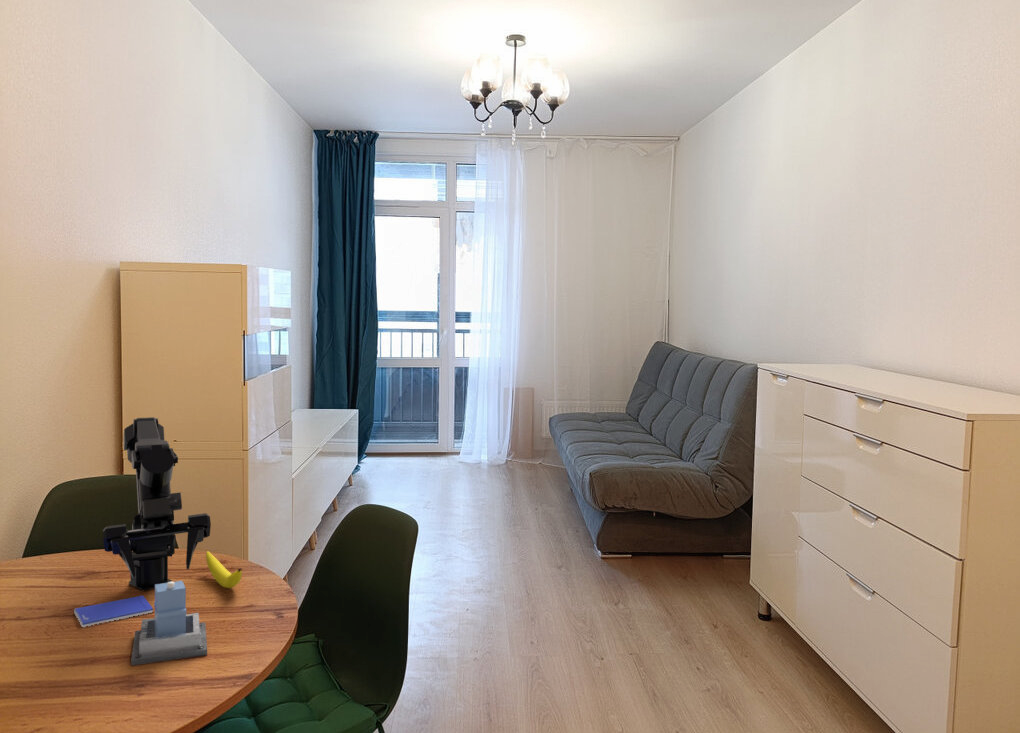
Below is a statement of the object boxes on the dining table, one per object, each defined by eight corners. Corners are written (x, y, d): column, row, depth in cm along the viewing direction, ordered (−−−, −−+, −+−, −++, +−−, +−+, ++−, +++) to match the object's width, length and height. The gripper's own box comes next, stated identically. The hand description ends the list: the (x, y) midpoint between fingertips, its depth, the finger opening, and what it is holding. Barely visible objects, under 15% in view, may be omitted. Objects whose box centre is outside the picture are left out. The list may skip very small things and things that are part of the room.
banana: (213, 570, 175) (213, 543, 174) (247, 596, 160) (247, 567, 160) (200, 573, 173) (201, 546, 172) (233, 599, 158) (233, 570, 158)
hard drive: (82, 622, 143) (152, 607, 151) (74, 607, 149) (142, 594, 157) (82, 630, 143) (152, 615, 151) (74, 615, 149) (142, 601, 157)
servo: (154, 636, 138) (154, 577, 137) (181, 631, 141) (181, 573, 140) (158, 649, 133) (158, 588, 132) (186, 644, 136) (186, 584, 135)
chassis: (135, 636, 140) (135, 617, 140) (205, 627, 145) (205, 609, 145) (131, 665, 129) (131, 645, 129) (207, 654, 134) (207, 635, 134)
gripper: (99, 485, 141) (102, 564, 133) (207, 473, 150) (216, 546, 141) (103, 513, 149) (106, 588, 141) (205, 500, 158) (213, 571, 150)
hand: (161, 573), depth 143 cm, fingers open, 9 cm apart
